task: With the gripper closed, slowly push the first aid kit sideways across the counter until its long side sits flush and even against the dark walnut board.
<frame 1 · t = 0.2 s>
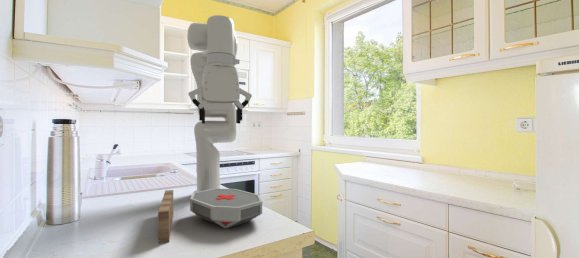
hand: (221, 123, 82), 31 cm above the countertop, tool pointing down, fingers open, 9 cm apart
first aid kit: (225, 220, 93), on the countertop
walnut board: (167, 226, 87), on the countertop
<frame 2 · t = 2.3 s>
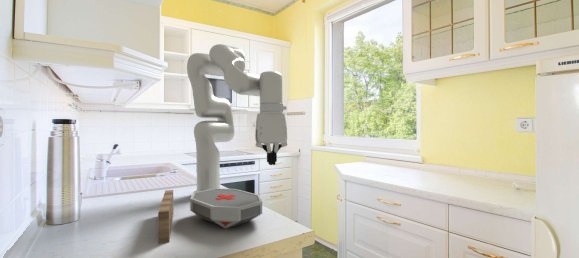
hand: (271, 164, 97), 17 cm above the countertop, tool pointing down, fingers closed
nothing on the countertop moved.
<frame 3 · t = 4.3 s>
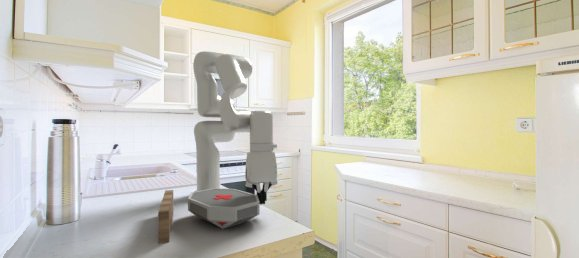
hand: (261, 203, 96), 4 cm above the countertop, tool pointing down, fingers closed
first aid kit: (223, 220, 92), on the countertop, touching gripper
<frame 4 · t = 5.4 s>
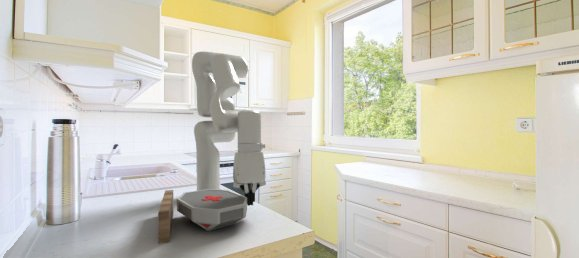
hand: (249, 204, 95), 4 cm above the countertop, tool pointing down, fingers closed
first aid kit: (212, 222, 91), on the countertop, touching gripper
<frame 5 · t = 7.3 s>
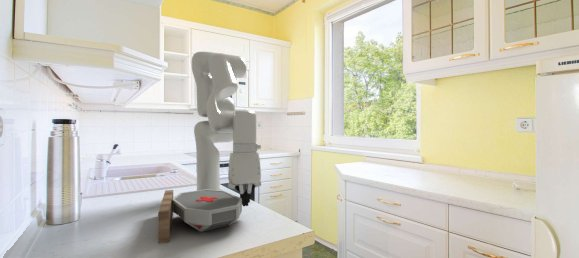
hand: (244, 205, 95), 4 cm above the countertop, tool pointing down, fingers closed
first aid kit: (207, 223, 90), on the countertop
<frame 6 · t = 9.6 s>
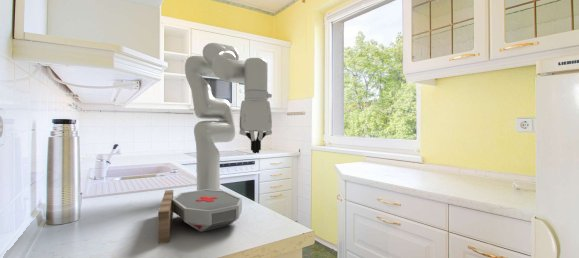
hand: (255, 152, 96), 21 cm above the countertop, tool pointing down, fingers closed
nothing on the countertop moved.
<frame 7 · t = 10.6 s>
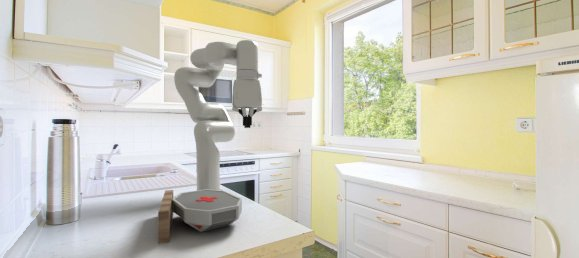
hand: (247, 127, 104), 29 cm above the countertop, tool pointing down, fingers closed
nothing on the countertop moved.
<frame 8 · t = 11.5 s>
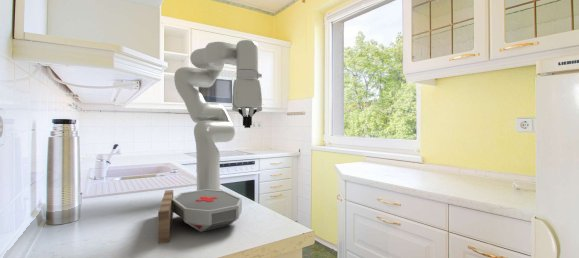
hand: (247, 127, 104), 29 cm above the countertop, tool pointing down, fingers closed
nothing on the countertop moved.
at the end: first aid kit 0.9 cm from the target spot on the countertop beside the walnut board, on the countertop; first aid kit tilted 0° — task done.
